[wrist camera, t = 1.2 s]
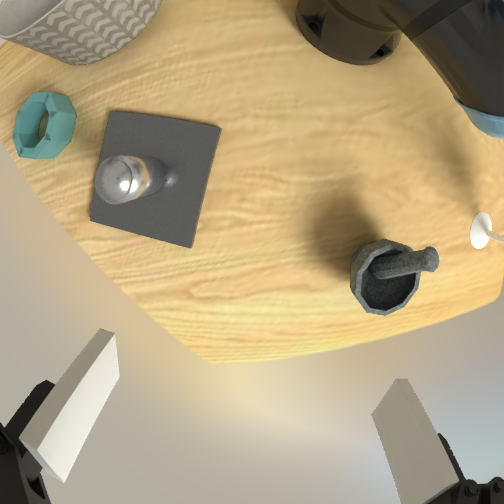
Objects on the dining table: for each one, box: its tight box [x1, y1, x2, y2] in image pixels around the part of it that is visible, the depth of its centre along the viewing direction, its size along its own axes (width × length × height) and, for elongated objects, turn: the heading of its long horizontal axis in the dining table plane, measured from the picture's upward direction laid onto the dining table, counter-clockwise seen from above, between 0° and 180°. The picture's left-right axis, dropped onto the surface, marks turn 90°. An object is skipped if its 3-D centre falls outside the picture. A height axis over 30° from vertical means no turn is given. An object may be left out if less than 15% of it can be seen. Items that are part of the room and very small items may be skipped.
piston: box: [90, 111, 222, 248], centre depth 29 cm, size 16×16×11 cm
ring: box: [13, 92, 77, 159], centre depth 29 cm, size 10×10×5 cm
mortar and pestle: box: [350, 239, 439, 316], centre depth 31 cm, size 11×9×12 cm
